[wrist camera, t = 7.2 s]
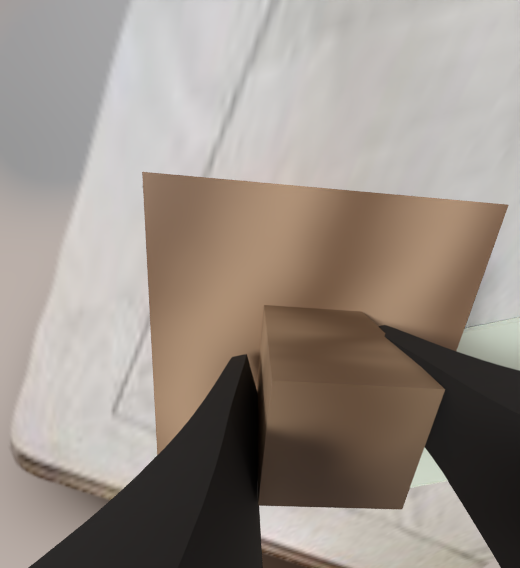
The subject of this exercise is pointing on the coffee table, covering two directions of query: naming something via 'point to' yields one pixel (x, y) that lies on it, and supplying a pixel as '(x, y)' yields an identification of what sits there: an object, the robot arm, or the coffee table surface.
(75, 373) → the coffee table surface
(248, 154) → the coffee table surface
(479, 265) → the lid
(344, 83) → the coffee table surface
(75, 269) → the coffee table surface
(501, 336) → the mat
